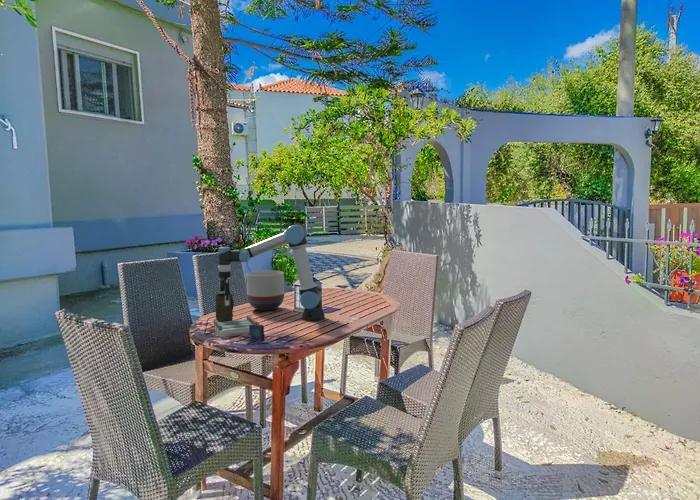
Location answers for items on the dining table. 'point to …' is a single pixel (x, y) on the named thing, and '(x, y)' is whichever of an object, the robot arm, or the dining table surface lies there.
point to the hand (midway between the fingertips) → (224, 303)
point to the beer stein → (224, 308)
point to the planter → (265, 289)
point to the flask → (256, 332)
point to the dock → (233, 327)
